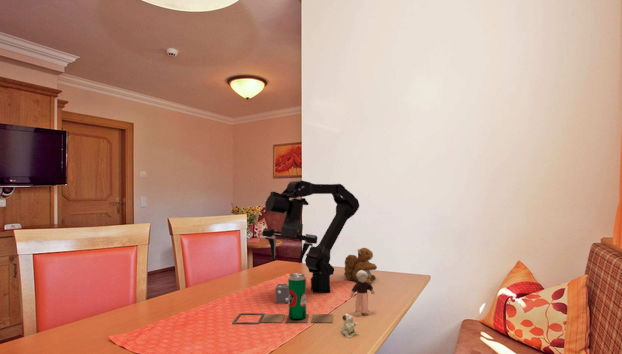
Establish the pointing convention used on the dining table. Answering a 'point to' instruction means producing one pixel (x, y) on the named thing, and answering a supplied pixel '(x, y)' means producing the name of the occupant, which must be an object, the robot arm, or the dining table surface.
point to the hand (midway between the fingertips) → (286, 261)
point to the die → (282, 294)
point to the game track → (279, 318)
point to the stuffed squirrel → (359, 265)
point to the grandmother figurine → (362, 293)
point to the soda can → (297, 296)
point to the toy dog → (348, 326)
